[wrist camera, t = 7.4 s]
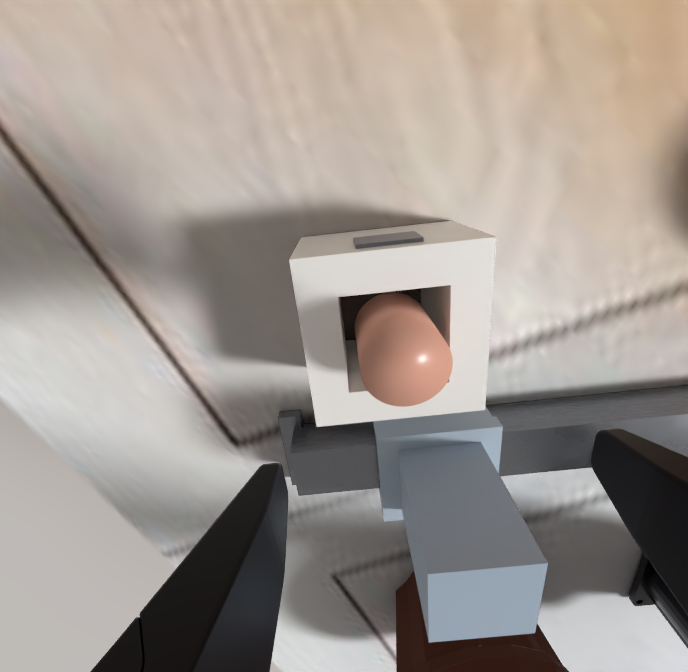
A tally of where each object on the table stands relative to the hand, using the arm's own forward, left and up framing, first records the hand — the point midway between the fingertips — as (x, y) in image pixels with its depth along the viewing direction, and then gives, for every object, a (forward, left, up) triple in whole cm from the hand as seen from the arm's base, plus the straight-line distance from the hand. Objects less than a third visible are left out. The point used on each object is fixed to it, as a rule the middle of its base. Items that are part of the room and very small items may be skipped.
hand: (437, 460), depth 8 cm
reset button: (0, 0, -8) cm, 8 cm away
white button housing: (0, 0, -11) cm, 11 cm away
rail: (-8, -7, -11) cm, 16 cm away
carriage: (-8, -2, -11) cm, 14 cm away
